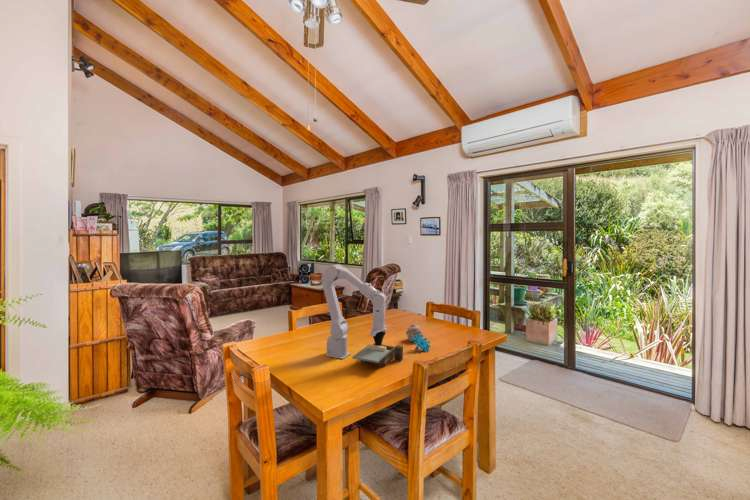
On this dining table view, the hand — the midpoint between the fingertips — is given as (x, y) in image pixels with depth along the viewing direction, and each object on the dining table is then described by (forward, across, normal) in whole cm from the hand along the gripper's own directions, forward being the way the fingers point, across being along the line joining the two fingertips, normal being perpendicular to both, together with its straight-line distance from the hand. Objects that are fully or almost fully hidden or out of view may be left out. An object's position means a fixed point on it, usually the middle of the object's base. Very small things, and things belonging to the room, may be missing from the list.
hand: (378, 347), depth 165 cm
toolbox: (+6, +1, 0) cm, 6 cm away
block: (+6, +4, -9) cm, 11 cm away
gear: (+6, +23, -15) cm, 28 cm away
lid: (+1, -8, 0) cm, 8 cm away
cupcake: (+6, +35, -7) cm, 36 cm away
